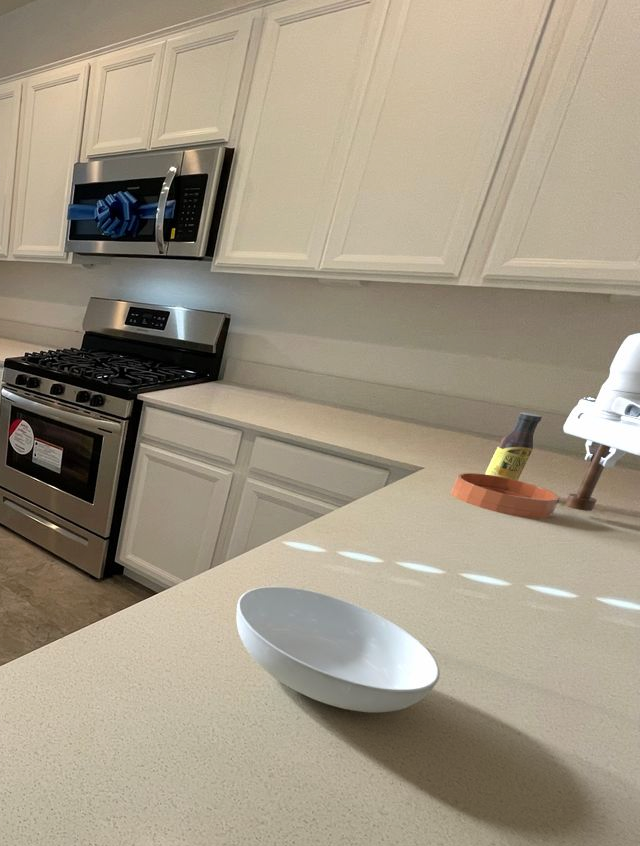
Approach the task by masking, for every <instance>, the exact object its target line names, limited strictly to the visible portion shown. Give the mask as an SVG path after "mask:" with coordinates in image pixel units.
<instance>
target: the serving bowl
mask: <svg viewBox="0 0 640 846" xmlns="http://www.w3.org/2000/svg"><path fill="white" fill-rule="evenodd" d="M235 616H236V618H235V619H236V628H237V632H238V635H239V638H240V639H241V642H242V644H243V646H244V647H245V649H246V650H247V652H248V654H249V655H250V657H252V658H253V660H254V661H255V662H256V663H257V664H258V665H259V666H260V668H262V669H263V670H264V671H265V672H267V673H268V674H269V675H271V676H272V677H273V678H274V679H276V680H277V681H278V682H280V683H282V684H283V685H285V686H287V687H288V688H291V689H292V690H294V691H296V692H298V693H300V694H302V695H303V696H306V697H308V698H310V699H312V700H315V701H317V702H320V703H323V704H325V705H328V706H333V707H336V708H340V709H343V710H349V711H354V712H361V713H389V712H395V711H400V710H403V709H406V708H409V707H411V706H413V705H415V704H416V703H418V702H420V701H421V700H422V699H424V698H426V696H427V695H428V694H429V693H430V692H431V691H432V690H433V688H434V687H435V686H436V685H437V683H438V681H439V680H440V667H439V665H438V662H437V660H436V658H435V656H433V654H432V653H431V652H430V651H429V649H428V648H427V647H426V646H425V645H424V644H423V643H422V642H421V641H419V640H418V639H417V638H416V637H414V636H413V635H412V634H410V632H407V631H406V630H405V629H404V628H402V627H401V626H399V625H397V624H395V623H394V622H392V621H390V620H389V619H387V618H386V617H383V616H382V615H380V614H378V613H376V612H373V611H372V610H369V609H367V608H365V607H363V606H360V605H358V604H355V603H353V602H350V601H347V600H344V599H341V598H338V597H335V596H332V595H328V594H325V593H321V592H317V591H313V590H310V589H304V588H298V587H289V586H278V585H277V586H262V587H261V586H260V587H257V588H254V589H249V590H247V591H246V592H244V593H243V594H241V596H240V597H239V599H238V601H237V604H236V615H235Z"/></svg>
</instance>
